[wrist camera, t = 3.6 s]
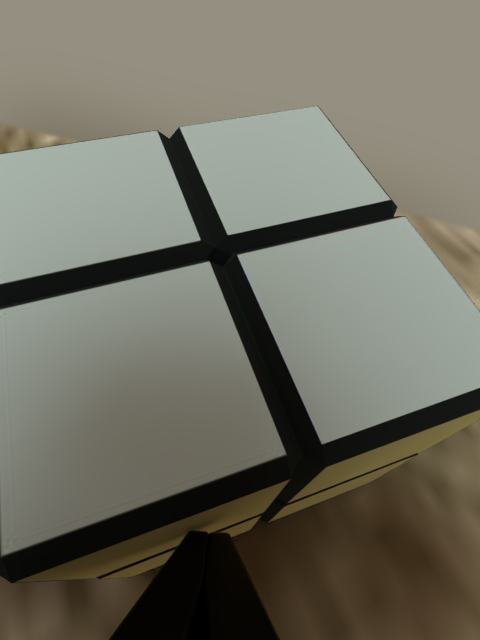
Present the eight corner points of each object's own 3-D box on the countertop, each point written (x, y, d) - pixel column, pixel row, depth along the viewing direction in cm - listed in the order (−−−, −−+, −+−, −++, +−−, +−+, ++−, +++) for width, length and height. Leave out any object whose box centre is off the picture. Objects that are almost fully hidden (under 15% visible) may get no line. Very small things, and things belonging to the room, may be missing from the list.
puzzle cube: (83, 340, 19) (-27, 149, 10) (279, 289, 21) (322, 98, 12) (123, 581, 14) (-25, 596, 5) (374, 481, 16) (553, 379, 7)
